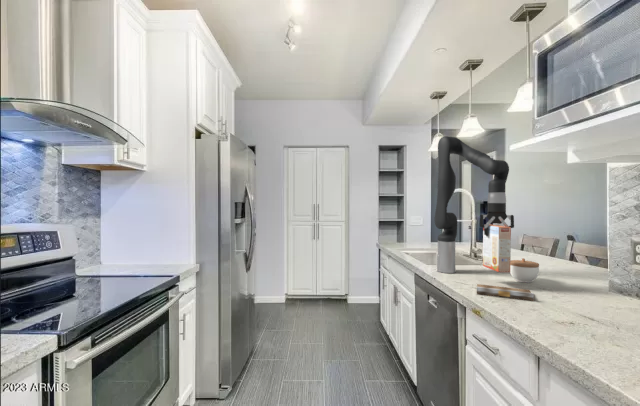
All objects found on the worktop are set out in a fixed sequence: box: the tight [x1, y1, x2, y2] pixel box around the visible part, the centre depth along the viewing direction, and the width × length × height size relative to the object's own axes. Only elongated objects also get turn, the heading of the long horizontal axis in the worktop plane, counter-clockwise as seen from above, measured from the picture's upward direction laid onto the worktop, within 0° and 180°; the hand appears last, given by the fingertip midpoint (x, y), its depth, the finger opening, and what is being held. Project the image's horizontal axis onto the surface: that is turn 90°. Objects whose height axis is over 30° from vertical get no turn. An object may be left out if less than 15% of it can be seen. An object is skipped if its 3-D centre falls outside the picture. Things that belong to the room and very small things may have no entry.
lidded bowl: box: [509, 258, 540, 284], centre depth 153 cm, size 13×13×11 cm
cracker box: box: [482, 224, 512, 273], centre depth 146 cm, size 14×6×21 cm, turn 179°
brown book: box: [476, 283, 535, 302], centre depth 131 cm, size 20×12×3 cm, turn 62°
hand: (496, 236), depth 146 cm, fingers closed on cracker box, 8 cm apart
